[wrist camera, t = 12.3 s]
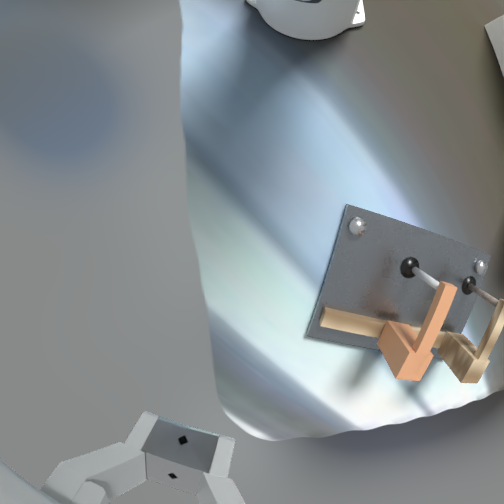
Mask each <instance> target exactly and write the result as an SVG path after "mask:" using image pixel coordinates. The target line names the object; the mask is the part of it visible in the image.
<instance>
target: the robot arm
mask: <svg viewBox="0 0 504 504" xmlns="http://www.w3.org/2000/svg"><path fill="white" fill-rule="evenodd" d="M246 1H247V2H248V3H249V4H250V5H252V6H254V7H255V8H257V9H258V11H259V12H260V14H261V16H262V17H263V19H264V20H265V21H266V23H267V24H268V25H270V26H271V27H272V28H274V29H275V30H277V31H278V32H280V33H282V34H285V35H287V36H290V37H294V38H298V39H305V40H320V39H326V38H330V37H333V36H335V35H337V34H339V33H341V32H342V31H344V30H345V29H347V28H351V27H358V26H361V25H363V24H364V22H365V14H364V7H363V1H362V0H246ZM356 13H358V14H356ZM234 445H235V438H231V437H227V436H223V435H219V434H216V433H213V432H209V431H205V430H201V429H198V428H194V427H191V426H186V425H183V424H180V423H178V422H175V421H172V420H169V419H167V418H164V417H161V416H159V415H156V414H154V413H151V412H149V411H144V412H143V413H142V414H141V416H140V418H139V419H138V421H137V423H136V424H135V426H134V428H133V429H132V431H131V432H130V434H129V436H128V437H127V439H126V441H125V442H124V443H122V442H118V443H115V444H113V445H110V446H107V447H105V448H102V449H99V450H96V451H94V452H91V453H88V454H85V455H82V456H79V457H76V458H73V459H70V460H67V461H63V462H61V463H60V464H59V465H58V467H57V468H56V469H55V470H54V472H53V473H52V474H51V476H50V477H49V478H48V480H47V481H46V483H45V484H44V485H43V486H42V488H41V489H38V488H37V487H35V486H34V485H33V484H31V483H30V482H29V481H27V480H26V479H25V478H23V477H22V476H21V475H20V474H18V473H17V472H16V471H14V470H13V469H12V468H11V467H10V466H9V465H7V464H6V463H5V462H4V461H3V460H2V459H1V458H0V504H110V502H109V501H110V500H112V499H114V498H115V497H117V496H119V495H121V494H123V493H125V492H127V491H128V490H130V489H132V488H134V487H136V486H137V485H139V484H141V483H143V482H144V481H146V479H148V480H151V481H153V482H156V483H159V484H162V485H165V486H169V487H172V488H174V489H177V490H180V491H183V492H186V493H190V494H193V495H196V496H197V499H198V502H199V504H246V503H245V502H244V500H243V498H242V496H241V494H240V493H239V491H238V489H237V487H236V485H235V484H234V482H233V480H232V479H230V478H228V473H229V468H230V464H231V459H232V454H233V450H234Z"/></svg>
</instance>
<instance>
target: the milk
mask: <svg viewBox="0 0 504 504" xmlns="http://www.w3.org/2000/svg"><path fill="white" fill-rule="evenodd" d="M484 27H485V29H486V31H487V33H488V36H489V38H490V41H491V43H492V46H493V48H494V51H495V53H496V56H497V59H498V62H499V65H500V68H501V71H502V74H503V77H504V15H502V16H500V17H498V18H497V19H495V20H493V21H491V22H490V23H488V24H486V25H484Z"/></svg>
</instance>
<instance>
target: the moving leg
mask: <svg viewBox="0 0 504 504" xmlns="http://www.w3.org/2000/svg"><path fill="white" fill-rule="evenodd" d="M412 272H413V273H414V274H415V275H417V276H418V277H419V278H421V279H422V280H423V281H425V282H426V283H427V284H429V285H430V286H431V287H433V288H434V289H435V290H437V291H436V293H435V296H434V299H433V301H432V304H431V306H430V309H429V311H428V313H427V316H426V318H425V320H424V323H423V325H422V327H421V329H420V332H419V334H418V335H417V334H416V333H415V332H414V330H413V329H412V328H411V327H410V325H408V324H403V323H398V322H393V321H389V320H387V322H386V324H385V327H384V329H383V331H382V334H381V336H380V338H379V340H378V343H377V344H378V346H379V348H380V350H381V352H382V354H383V355H384V357H385V359H386V361H387V363H388V365H389V367H390V369H391V371H392V373H393V375H394V376H395V378H396V379H402V380H412V381H420V380H421V378H422V376H423V375H424V373H425V371H426V369H427V367H428V366H429V364H430V362H431V360H432V358H433V356H434V355H433V354H432V353H431V352H430V350H431V348H432V346H433V344H434V342H435V340H436V338H437V336H438V334H439V331H440V329H441V327H442V325H443V323H444V320H445V318H446V316H447V313H448V311H449V309H450V306H451V304H452V301H453V299H454V296H455V293H456V291H457V287H456V286H454V285H452V284H450V283H446V282H443V281H440V283H439V282H438V281H436V280H435V279H434V278H432V277H431V276H429V275H428V274H426V273H425V272H423V271H422V270H420V269H419V268H417V267H413V269H412Z"/></svg>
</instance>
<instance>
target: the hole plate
mask: <svg viewBox="0 0 504 504" xmlns="http://www.w3.org/2000/svg"><path fill="white" fill-rule="evenodd" d="M490 257H491V255H489V254H486V253H484V252H482V251H479V250H477V249H474V248H472V247H469V246H467V245H464V244H462V243H459V242H457V241H454V240H451V239H449V238H446V237H444V236H441V235H438V234H435V233H433V232H430V231H427V230H425V229H422V228H419V227H416V226H413V225H410V224H407V223H405V222H402V221H399V220H396V219H393V218H390V217H387V216H384V215H380V214H377V213H374V212H371V211H368V210H365V209H361V208H358V207H355V206H352V205H348V204H346V207H345V211H344V215H343V218H342V222H341V226H340V229H339V233H338V236H337V240H336V243H335V247H334V250H333V254H332V257H331V260H330V263H329V267H328V270H327V273H326V276H325V280H324V283H323V286H322V289H321V292H320V295H319V298H318V301H317V304H316V307H315V310H314V313H313V316H312V319H311V321H310V324H309V327H308V330H307V336H310V337H314V338H319V339H324V340H329V341H334V342H339V343H344V344H349V345H354V346H360V347H365V348H371V349H377V350H380V348H379V346H378V344H377V343H378V340H379V338H376V337H371V336H365V335H360V334H355V333H350V332H346V331H341V330H336V329H331V328H327V327H322V326H320V322H319V321H320V318H321V315H322V312H323V310H324V307H327V308H332V309H336V310H340V311H345V312H349V313H354V314H358V315H363V316H367V317H372V318H377V319H381V320H386V321H387V320H389V321H393V322H398V323H403V324H408V325H410V326H415V327H422V325H423V323H424V320H425V318H426V316H427V313H428V311H429V309H430V306H431V304H432V301H433V299H434V296H435V293H436V291H437V290H435V289H434V288H433V287H431V286H430V285H429V284H427V283H426V282H425V281H423V280H422V279H421V278H419V277H418V276H417V275H415V274H414V273H413V272H412V269H413V267H417V268H419V269H420V270H422V271H423V272H425V273H426V274H428V275H429V276H431V277H432V278H434V279H435V280H436V281H438V282H439V283H440V281H443V282H446V283H450V284H452V285H454V286H456V287H457V291H456V293H455V296H454V299H453V301H452V304H451V306H450V309H449V311H448V313H447V316H446V318H445V320H444V323H443V325H442V327H441V329H440V331H441V332H447V331H448V332H453V333H458V334H461V333H462V331H463V328H464V326H465V324H466V322H467V319H468V317H469V315H470V312H471V310H472V308H473V305H474V303H475V300H476V297H477V294H476V293H474V292H473V291H471V290H470V289H468V285H469V284H470V283H471V284H473V285H475V286H476V287H478V288H480V287H481V284H482V281H483V278H484V275H485V273H486V271H487V266H488V263H489V260H490ZM438 350H439V348H434V347H432V348H431V350H430V352H431V353H432V354H433V355H434V356H433V358H437V359H442V358H441V356H440V355H439V354H438V353H437V352H438Z"/></svg>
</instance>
